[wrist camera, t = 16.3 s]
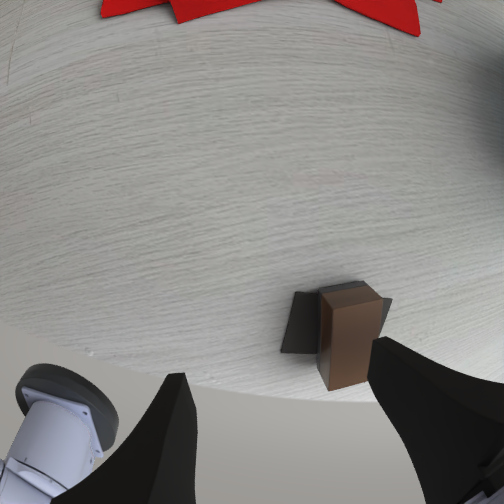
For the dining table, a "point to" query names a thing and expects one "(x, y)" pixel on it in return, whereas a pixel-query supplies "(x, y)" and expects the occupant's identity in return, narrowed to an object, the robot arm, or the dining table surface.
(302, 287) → the dining table surface
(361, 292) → the eraser
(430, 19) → the dining table surface
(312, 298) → the dark grey flat slab
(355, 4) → the cloth
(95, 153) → the dining table surface
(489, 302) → the dining table surface
